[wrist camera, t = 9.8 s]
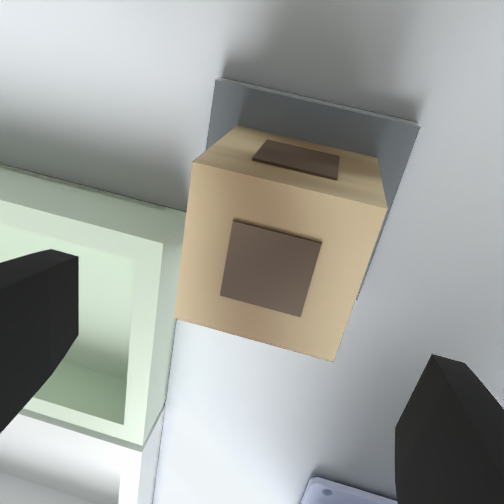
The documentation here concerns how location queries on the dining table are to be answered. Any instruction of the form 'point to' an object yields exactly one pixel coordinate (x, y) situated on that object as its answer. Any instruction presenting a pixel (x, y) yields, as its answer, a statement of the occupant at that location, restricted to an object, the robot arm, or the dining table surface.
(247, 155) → the letter cube
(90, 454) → the white tray
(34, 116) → the dining table surface
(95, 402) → the sage tray
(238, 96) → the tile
